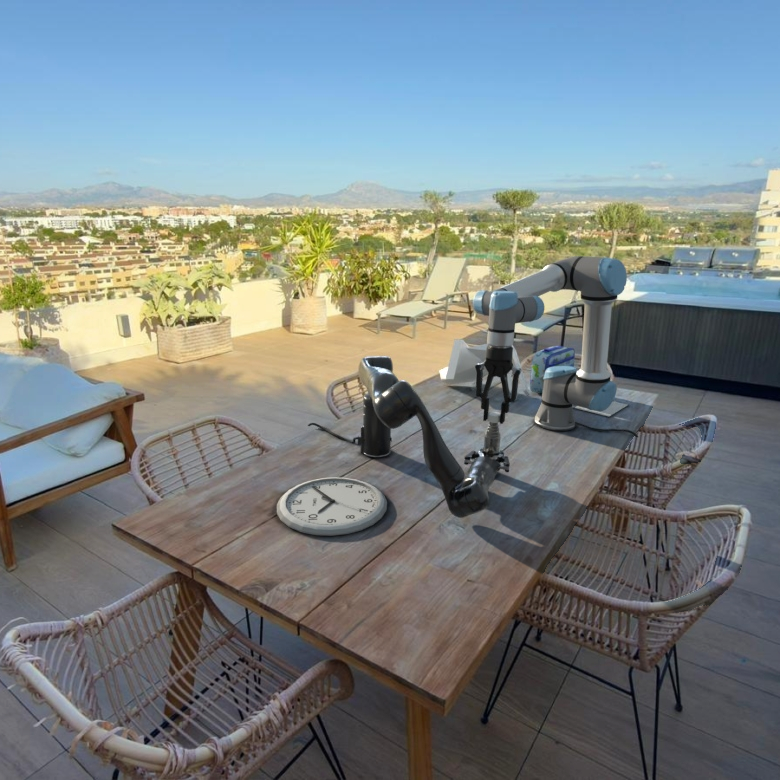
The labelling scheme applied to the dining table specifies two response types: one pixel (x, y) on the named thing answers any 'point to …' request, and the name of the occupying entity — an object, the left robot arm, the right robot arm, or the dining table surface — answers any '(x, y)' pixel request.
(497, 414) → the cap
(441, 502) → the dining table surface
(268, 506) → the dining table surface
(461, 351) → the white plastic object
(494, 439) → the bottle
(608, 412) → the invitation card
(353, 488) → the wall clock
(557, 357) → the lunch box
